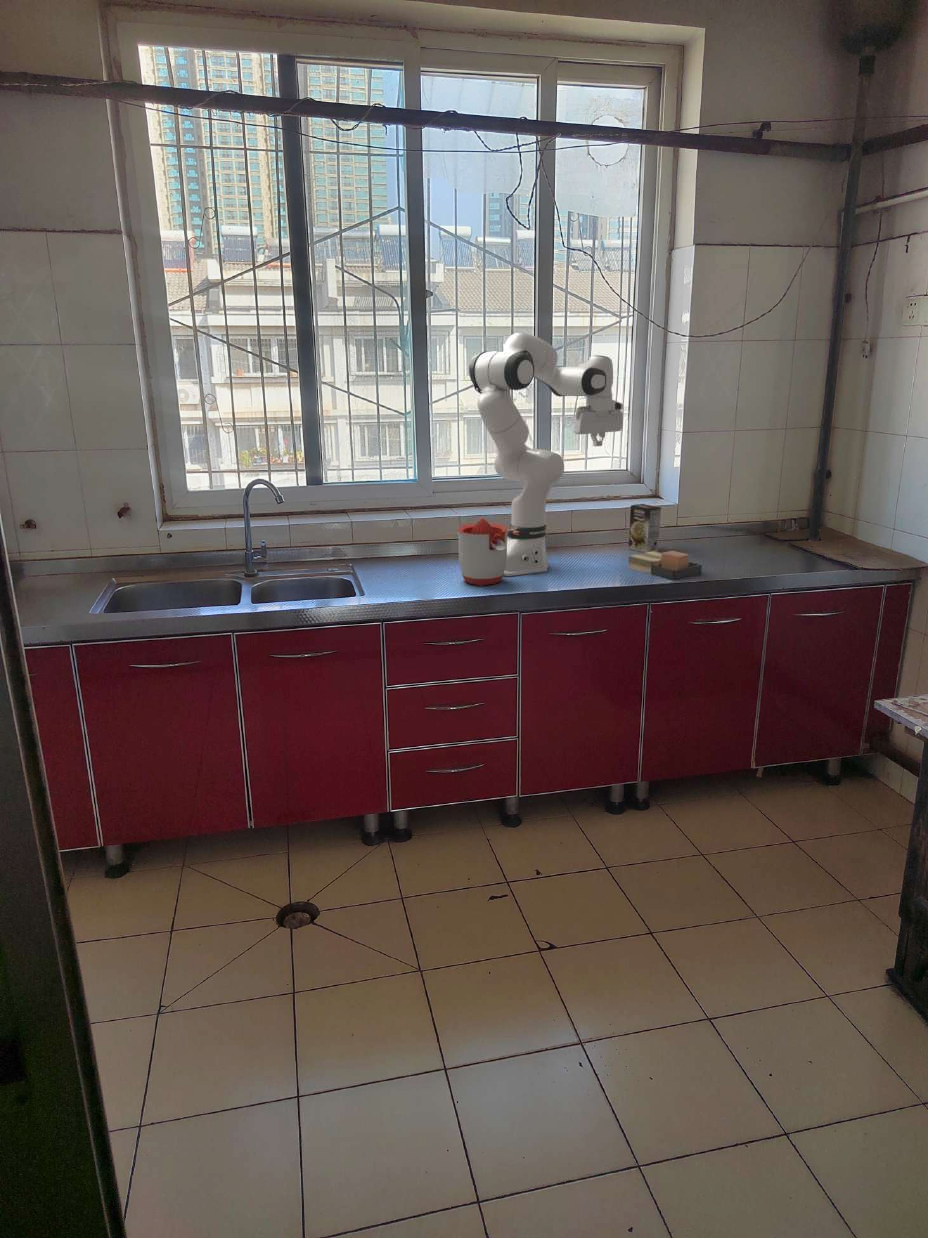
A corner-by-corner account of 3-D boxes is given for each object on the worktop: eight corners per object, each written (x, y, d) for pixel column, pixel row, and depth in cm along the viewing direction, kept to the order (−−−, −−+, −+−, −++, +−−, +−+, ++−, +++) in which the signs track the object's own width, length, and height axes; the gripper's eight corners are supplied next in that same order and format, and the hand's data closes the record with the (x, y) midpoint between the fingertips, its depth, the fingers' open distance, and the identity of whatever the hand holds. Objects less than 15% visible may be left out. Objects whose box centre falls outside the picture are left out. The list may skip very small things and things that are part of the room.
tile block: (660, 570, 262) (677, 575, 256) (661, 552, 260) (678, 556, 254) (671, 568, 264) (688, 572, 259) (672, 550, 262) (689, 554, 257)
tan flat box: (650, 573, 260) (651, 561, 259) (628, 567, 268) (628, 556, 267) (676, 568, 267) (676, 556, 266) (653, 562, 275) (653, 551, 274)
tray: (673, 580, 252) (674, 571, 251) (650, 574, 260) (651, 565, 259) (701, 574, 259) (701, 564, 258) (678, 568, 267) (678, 559, 266)
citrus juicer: (481, 591, 243) (481, 526, 237) (448, 580, 257) (447, 517, 250) (521, 583, 252) (522, 519, 246) (487, 572, 265) (487, 511, 259)
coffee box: (627, 549, 294) (629, 505, 289) (639, 546, 298) (641, 503, 293) (646, 553, 287) (649, 508, 282) (658, 551, 291) (661, 506, 286)
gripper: (582, 406, 270) (581, 448, 274) (626, 404, 281) (624, 444, 285) (570, 406, 275) (569, 447, 279) (613, 403, 286) (611, 443, 290)
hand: (597, 446), depth 282 cm, fingers closed
